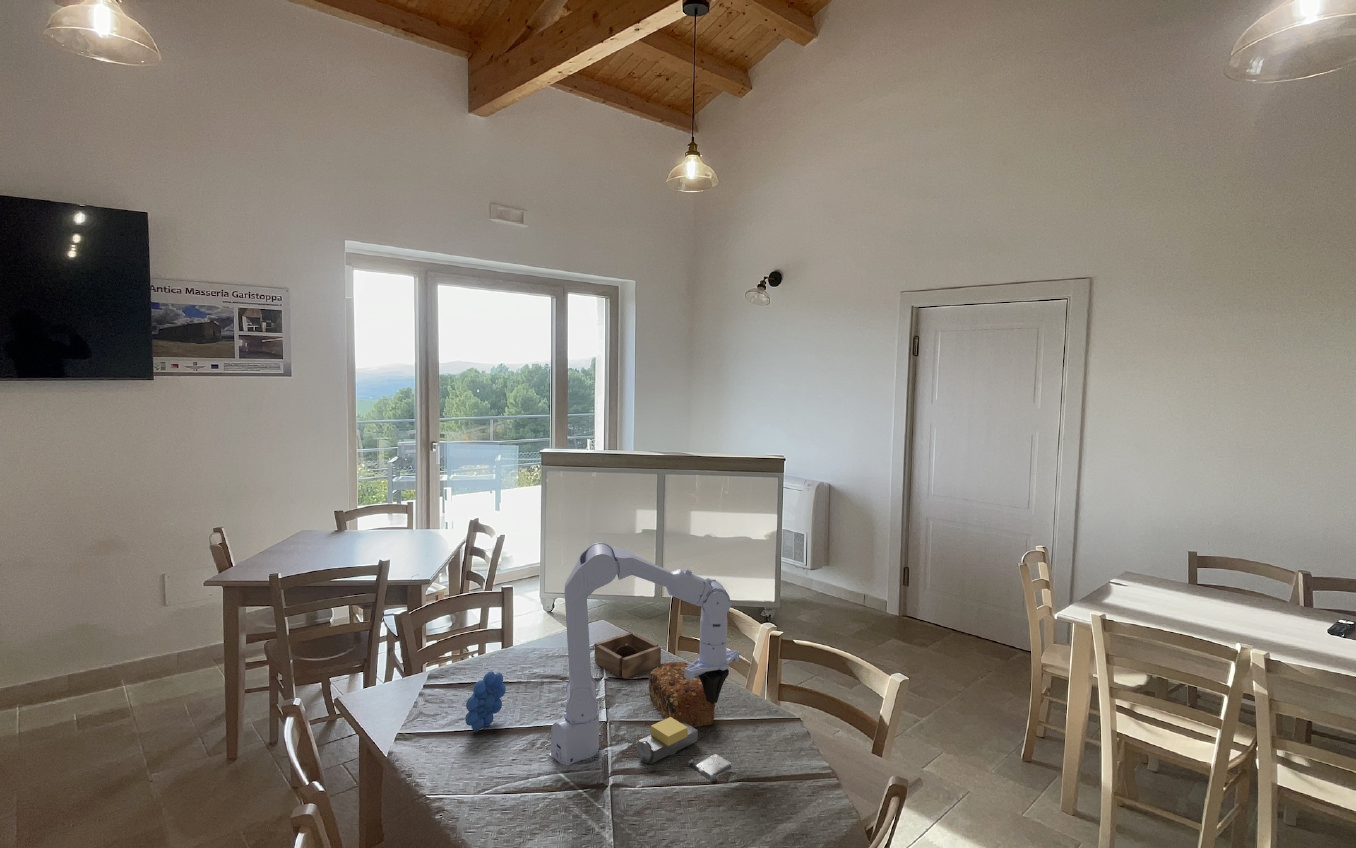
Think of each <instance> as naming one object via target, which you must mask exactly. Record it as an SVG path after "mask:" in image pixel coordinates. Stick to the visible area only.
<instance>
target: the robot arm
mask: <svg viewBox="0 0 1356 848" xmlns="http://www.w3.org/2000/svg"><path fill="white" fill-rule="evenodd" d="M630 576H634V577H636V578H639V579H643V580H646V581H648V582H650V583H654V584H656V585H660V586H662V587H665V588H666V590H667V593H668V595H669V596H670V597H674V598H676V599H678V600H681V601H684V602H685V603H689V604H691V605H693V606H697V607H701V608H700V617H699V618H700V619H699V621H700V623H699V656H698V658H697V659H696V660H694V661H693V662H692V663H691V664H689V665H690V666H688V667H686V668H685V674H684V677H685V678H687V679H689V680H693V679H694V677H695V676H699V678H700V680H701V683H702V685H703V688H704V692H705V696H706V701H707V702H709V703H711V704H715V705H716V703H718V701H719V698H720V694H721V690H722V689H723V685H724V683H725V681H726V679H727V678H728V676H729V675H730V665H729V664H730V663H732V662H739V661H740V651H737V650H736V649H730V650H728V649H727V648H728V645H727V644H728V612H729V611H730V609H731V607H732V601H731V597H730V594H728V592H727V590H726V588H725V587H724V586H723V584H721V582H719V581H718V580H716V579H711V578H709V577H707V578H706V579H705V578H703V577H701V576H699V575H696V574H695V573H694V574H693V572H692V569H689V568H685V569H684V570H683V569H682V568H678V569H675V570H672V571H670V570H668V569H667V568H664V567H662V566H660V565H657V564H655V563H653V562H651V561H648V560H646V559H644V558H642V557H641V556H638V555H636V554H634V553H632V552H629V551H627V550H625V549H622V548H621V547H618V546H614V545H613V546H611V545H610V544H608V543H606V542H594V543H593V544H591V545H589V547H587V548H586V549H584V550H583V552H581V553H580V555H579V557H578V560H577V562H576V564H575V566H574V567H573V569H572V570H571V573H570V574H569V575H568V578H567V579H566V581H565V582H564V605H565V623H566V638H567V639H566V641H567V654H568V655H567V656H568V672H569V673H568V674H569V676H568V677H569V679H568V681H567V683H566V687H565V689H566V706H565V708H564V710H563V715H562V716H561V717H560V718H559V719H558V720H557V721H555V722H554V723H553V724H552V725H551V727H550V728H551V729H550V730H551V731H550V752H549V753H548V757H549V758H551V759H554V760H555V761H557V762H558V763H559V764H561V765H564V766H566V767H567V766H570V765H572V764H574V763H577V762H580V761H582V760H587V759H590V758H593V757H594V756H596V754H597V753H598V752H599V748H600V745H599V744H600V736H599V735H600V728H599V727H600V709H599V705H598V704H599V703H598V701H597V683H596V680H595V679H594V677H593V676H592V665H591V650H590V649H591V648H590V647H591V646H590V645H591V643H590V631H589V630H590V628H589V613H588V597H589V596H590V595H591V594H592V593H594V592H595V591H596V590H598V589H600V588H602V587H605V586H606V585H608V584H610V583H612V582H613V581H614V579H616V577H617V578H618V581H621V580H623V579H625V578H628V577H630Z"/></svg>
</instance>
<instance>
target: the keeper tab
mask: <svg viewBox="0 0 1356 848" xmlns="http://www.w3.org/2000/svg"><path fill="white" fill-rule="evenodd" d="M731 763H732V762H730V761H728V760H726V759H725V758H723V757H722V756H720V755H719V754H717V753H714V754H712V755H710V756H709V757H707V758H705V759H703V760H701V761H700V762H699V763H697V764H695V763H694V764H691V766H690V767H689V768H691V769H692V770H695V772H697V773H698V774H700V775H702V776H703V777H705V778H706V779H708V780H709V781H710V776H712V775H713V774H715V775H717V774H719V773H721V772H722V771H724V770H726V769H728V768H729V767H730V766H732V765H731Z"/></svg>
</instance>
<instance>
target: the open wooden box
mask: <svg viewBox="0 0 1356 848" xmlns="http://www.w3.org/2000/svg"><path fill="white" fill-rule="evenodd" d="M625 644H628V645H632V646H633V647H635V648H636V650H637V653H636V654H633V655H631V656H628V657H625V658H623V657H622V656H620V655H618V654H616V653H615V651H616V649H617V648H618V647H619V646H621V645H625ZM594 662H595V663H596V665H598V666H599V667H601V668H603V669H605V670H606V671H608V672H610V673H611V674H613V675H615V676H616V677H618V678H619V677H621V678H623V679H628V678H631V677H633V676H636V675H639V674H641V673H643V672H646V671H649V670H653V669H655V668H657V667H659V665H660V664H662V663H661V662H662V647H661V646H659V644H658V643H656V642H654V641H652V640H650V639H648V638H646V637H643V636H642V635H640V634H638V633H633V632H627V633H623V634H620V635H616V636H614V637H611V638H610V637H609V638H607V639H603V640H602V641H598V642H594Z"/></svg>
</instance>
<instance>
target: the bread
mask: <svg viewBox="0 0 1356 848" xmlns="http://www.w3.org/2000/svg"><path fill="white" fill-rule="evenodd" d="M690 665H691V664H689V663H688V662H685V661H676V662H675V661H674V662H673V661H670V662H664V663H661V664H660V665H659V666H657V667H655V668H652V669H651V671H650V672H649V674H648V682H649V683H648V692H649V698H650V701H651V702H652V704H653V705H654V707H655V709H656V710H657V712H658V713H659V712H660V714H661V716H662V717H663V720H665V719H667V718H669V717H671V718H673V719H675V720H677V721H678V722H680V721H683V722H685V723H687V724H688V725H690V726H692V727H693V728H697V727H704V726H709V725H713V721H714V720H715V708H716V703H715V704H711V703H709V702H707V701H706V696H705V692H704V688H703V685H702V683H701V680H700V678H699V676H695V677H694V679H693V680H689V679H687V678H685V677H684V674H685V668H686V667H688V666H690Z"/></svg>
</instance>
